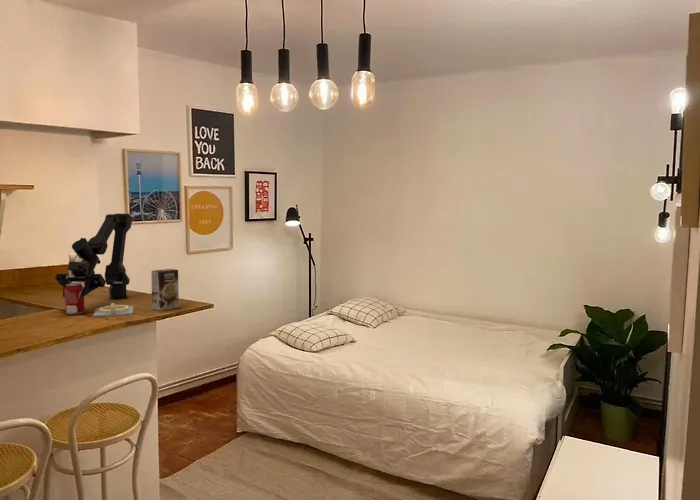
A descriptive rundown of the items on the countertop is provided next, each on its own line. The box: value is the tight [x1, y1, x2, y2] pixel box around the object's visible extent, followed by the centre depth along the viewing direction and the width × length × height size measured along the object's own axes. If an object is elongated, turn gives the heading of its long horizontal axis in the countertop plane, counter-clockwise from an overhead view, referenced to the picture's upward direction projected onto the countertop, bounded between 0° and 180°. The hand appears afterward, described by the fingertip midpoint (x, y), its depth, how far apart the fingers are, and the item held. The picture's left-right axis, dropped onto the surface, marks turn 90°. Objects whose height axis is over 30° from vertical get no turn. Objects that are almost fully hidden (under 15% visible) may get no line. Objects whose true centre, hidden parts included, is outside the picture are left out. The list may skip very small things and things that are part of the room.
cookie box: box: [150, 268, 180, 311], centre depth 220 cm, size 9×6×16 cm
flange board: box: [92, 302, 134, 319], centre depth 211 cm, size 14×14×5 cm
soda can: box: [64, 283, 85, 316], centre depth 209 cm, size 7×7×12 cm
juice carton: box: [68, 252, 85, 287], centre depth 258 cm, size 8×9×19 cm
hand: (72, 297), depth 207 cm, fingers closed on soda can, 7 cm apart
